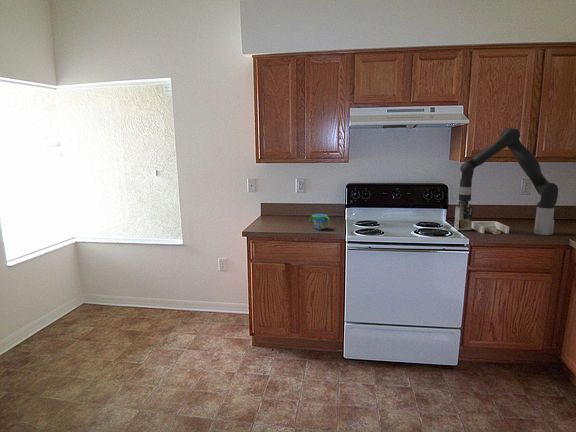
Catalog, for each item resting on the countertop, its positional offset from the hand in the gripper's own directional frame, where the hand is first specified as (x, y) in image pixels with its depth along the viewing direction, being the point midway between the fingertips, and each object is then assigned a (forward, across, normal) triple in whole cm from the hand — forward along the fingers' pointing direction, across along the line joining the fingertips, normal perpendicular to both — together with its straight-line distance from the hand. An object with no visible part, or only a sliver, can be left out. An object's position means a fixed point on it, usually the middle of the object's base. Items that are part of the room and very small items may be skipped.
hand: (463, 217), depth 250 cm
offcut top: (+7, -6, -17) cm, 19 cm away
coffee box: (+8, 0, 0) cm, 8 cm away
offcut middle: (+9, -6, -17) cm, 20 cm away
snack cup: (+9, +6, +96) cm, 97 cm away
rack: (+9, 0, -17) cm, 19 cm away
